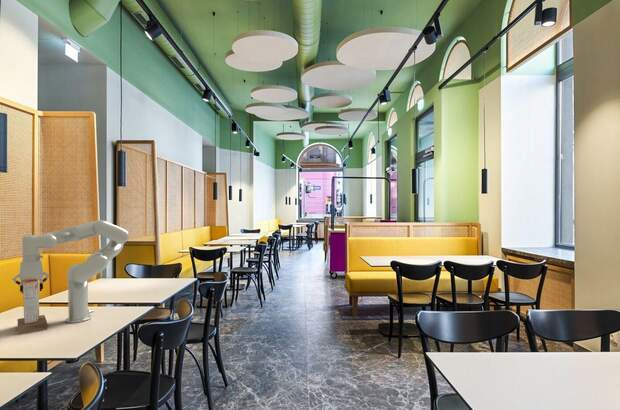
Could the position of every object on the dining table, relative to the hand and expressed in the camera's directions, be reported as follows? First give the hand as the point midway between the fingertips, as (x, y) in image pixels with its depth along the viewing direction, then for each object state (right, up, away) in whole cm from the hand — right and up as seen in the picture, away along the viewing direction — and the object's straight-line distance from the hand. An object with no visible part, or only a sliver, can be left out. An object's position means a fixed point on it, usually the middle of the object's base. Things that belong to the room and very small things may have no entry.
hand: (31, 291), depth 206 cm
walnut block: (0, -19, 0) cm, 19 cm away
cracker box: (0, -15, 0) cm, 15 cm away
